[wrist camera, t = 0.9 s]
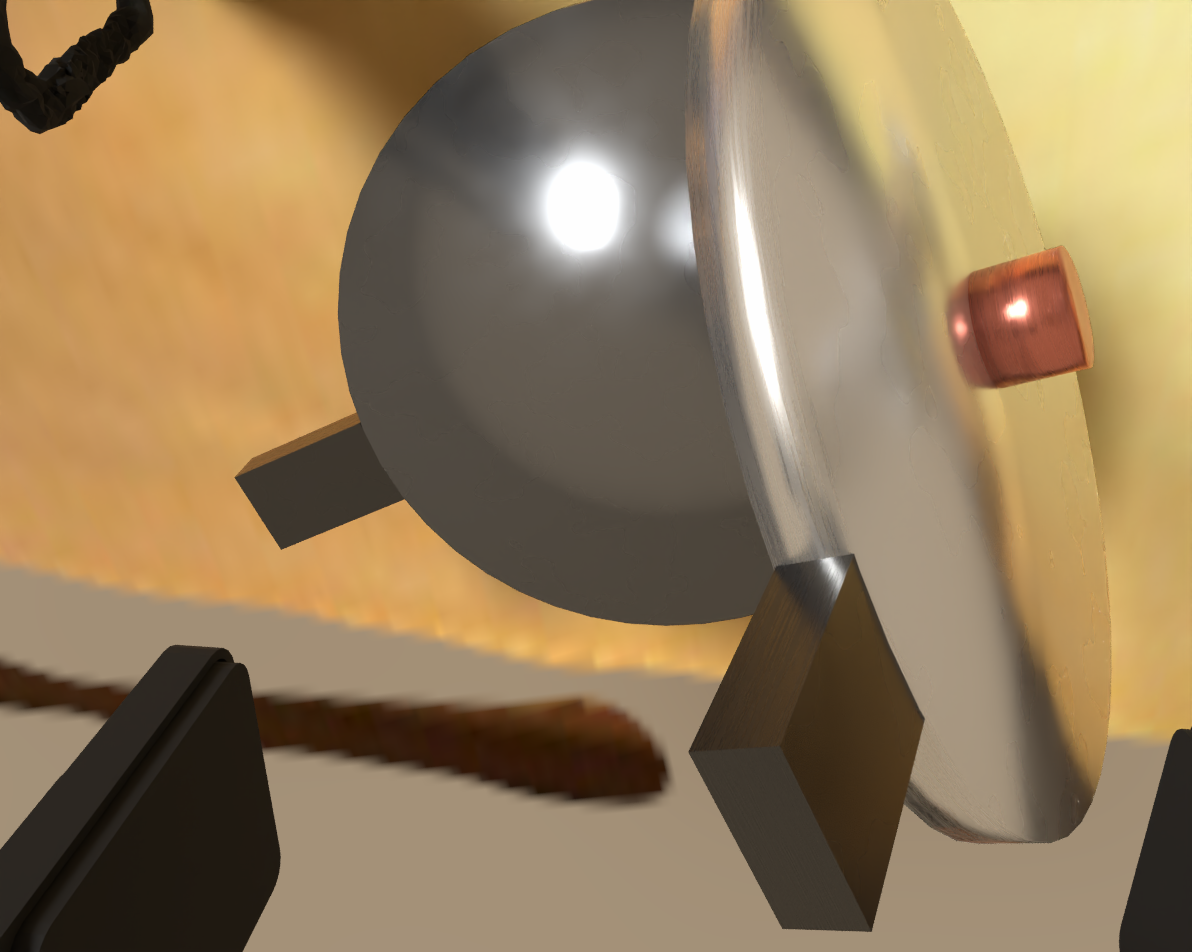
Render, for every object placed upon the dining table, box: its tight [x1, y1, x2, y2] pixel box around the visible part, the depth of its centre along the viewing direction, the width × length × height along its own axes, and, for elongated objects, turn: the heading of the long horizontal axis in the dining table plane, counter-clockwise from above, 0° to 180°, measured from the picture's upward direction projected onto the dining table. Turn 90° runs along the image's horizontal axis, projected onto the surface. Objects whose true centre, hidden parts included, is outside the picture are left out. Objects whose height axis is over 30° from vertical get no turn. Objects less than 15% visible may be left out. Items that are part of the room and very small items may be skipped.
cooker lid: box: [685, 0, 1111, 932], centre depth 22 cm, size 23×20×3 cm
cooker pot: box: [235, 0, 774, 626], centre depth 40 cm, size 25×20×10 cm
